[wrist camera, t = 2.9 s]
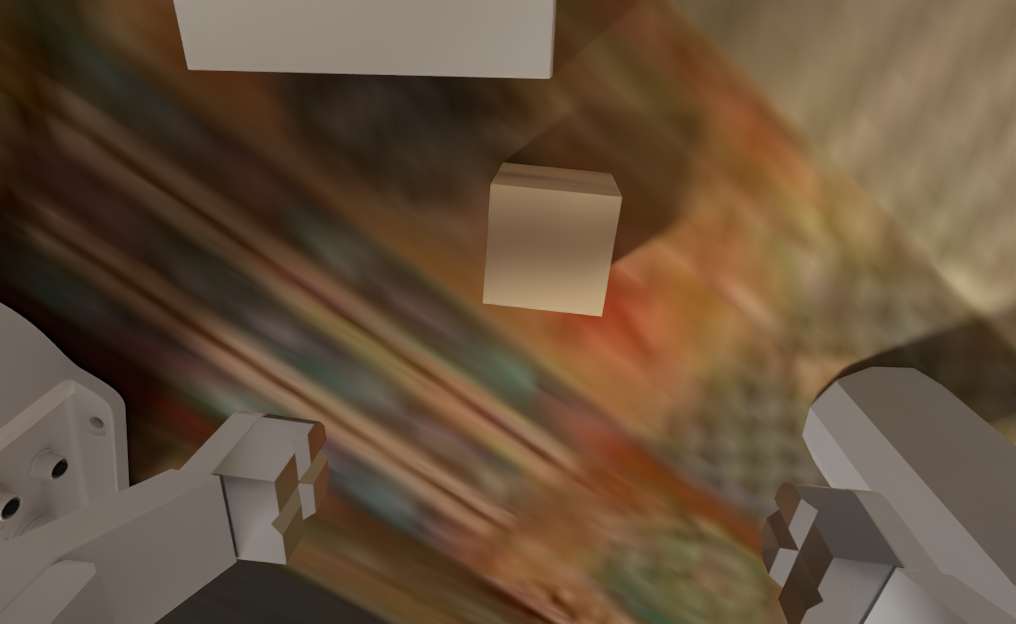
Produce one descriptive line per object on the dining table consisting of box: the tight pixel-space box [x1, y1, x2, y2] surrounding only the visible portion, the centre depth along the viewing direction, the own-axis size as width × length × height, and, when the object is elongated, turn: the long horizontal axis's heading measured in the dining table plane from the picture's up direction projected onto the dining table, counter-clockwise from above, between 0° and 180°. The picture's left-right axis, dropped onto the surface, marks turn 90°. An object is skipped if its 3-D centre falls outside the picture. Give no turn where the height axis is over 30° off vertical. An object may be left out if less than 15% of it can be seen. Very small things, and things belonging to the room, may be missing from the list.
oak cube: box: [483, 163, 622, 316], centre depth 23 cm, size 5×5×5 cm
